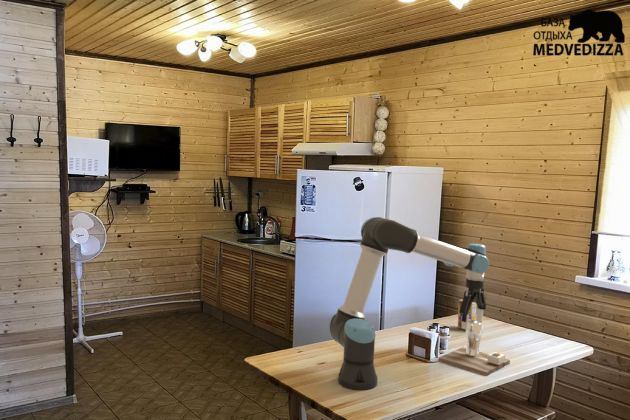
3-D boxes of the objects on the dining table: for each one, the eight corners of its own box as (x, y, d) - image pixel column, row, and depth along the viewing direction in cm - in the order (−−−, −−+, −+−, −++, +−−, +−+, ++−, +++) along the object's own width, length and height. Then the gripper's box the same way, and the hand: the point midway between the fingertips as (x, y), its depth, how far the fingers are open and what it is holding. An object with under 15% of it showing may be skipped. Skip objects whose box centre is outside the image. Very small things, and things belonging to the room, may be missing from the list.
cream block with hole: (498, 364, 224) (499, 357, 224) (487, 361, 228) (487, 354, 227) (504, 361, 229) (505, 354, 228) (493, 358, 232) (494, 351, 232)
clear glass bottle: (481, 357, 234) (483, 324, 233) (465, 356, 235) (467, 322, 234) (479, 352, 241) (481, 320, 240) (463, 351, 242) (465, 318, 241)
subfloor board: (486, 375, 217) (486, 372, 217) (438, 360, 232) (438, 357, 232) (509, 363, 233) (509, 360, 232) (463, 350, 248) (463, 346, 248)
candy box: (456, 327, 285) (458, 299, 284) (462, 326, 288) (463, 299, 287) (470, 332, 278) (472, 303, 277) (475, 331, 281) (477, 302, 279)
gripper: (469, 283, 223) (466, 333, 224) (495, 277, 241) (492, 323, 242) (453, 280, 228) (450, 329, 229) (480, 274, 246) (477, 319, 247)
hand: (472, 326), depth 236 cm, fingers open, 13 cm apart
